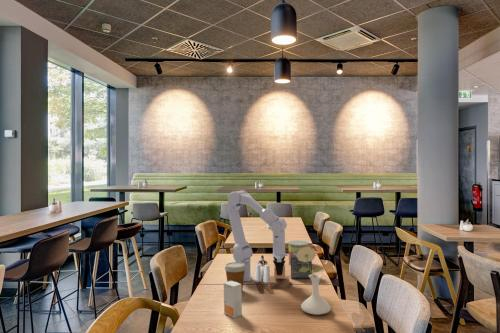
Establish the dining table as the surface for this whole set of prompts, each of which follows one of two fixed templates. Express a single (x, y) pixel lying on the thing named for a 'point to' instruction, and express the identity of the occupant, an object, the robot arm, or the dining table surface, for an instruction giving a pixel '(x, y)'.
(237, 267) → the disposable coffee cup
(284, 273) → the terracotta cube
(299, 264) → the small box
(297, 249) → the canned food
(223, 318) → the dining table surface
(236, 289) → the skincare box
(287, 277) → the walnut block
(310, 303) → the flower in vase
